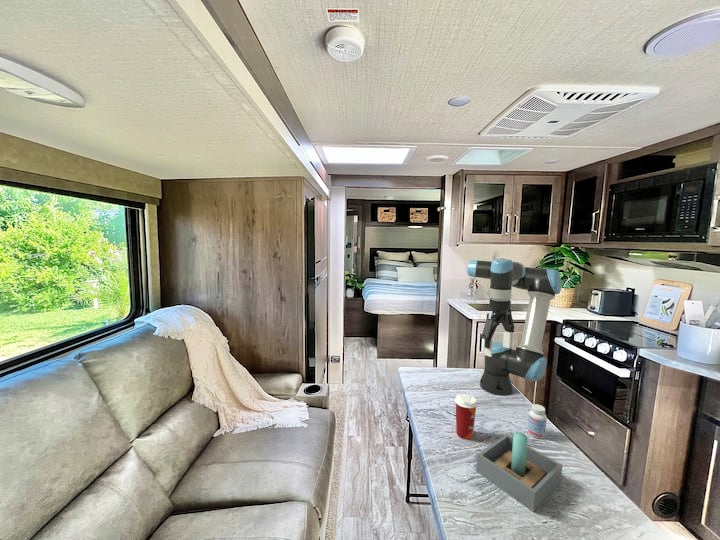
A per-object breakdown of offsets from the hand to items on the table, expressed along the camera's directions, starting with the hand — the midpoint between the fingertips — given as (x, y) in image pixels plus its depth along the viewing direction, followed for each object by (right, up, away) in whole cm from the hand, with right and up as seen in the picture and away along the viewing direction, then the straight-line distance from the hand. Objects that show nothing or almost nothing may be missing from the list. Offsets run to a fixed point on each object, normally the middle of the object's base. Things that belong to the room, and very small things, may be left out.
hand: (497, 351), depth 118 cm
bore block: (-4, -35, -22) cm, 41 cm away
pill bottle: (+15, -33, -1) cm, 36 cm away
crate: (-4, -35, -22) cm, 41 cm away
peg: (-4, -35, -22) cm, 41 cm away
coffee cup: (-14, -33, -1) cm, 35 cm away
